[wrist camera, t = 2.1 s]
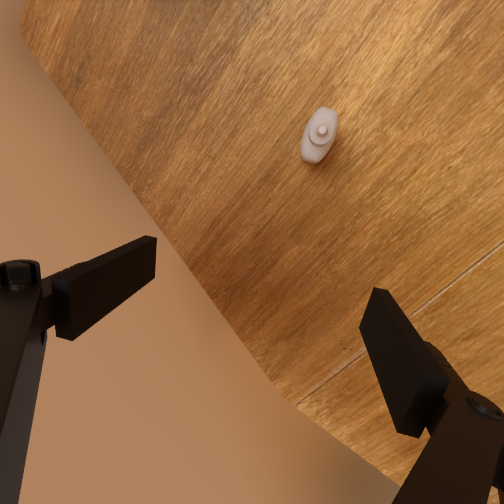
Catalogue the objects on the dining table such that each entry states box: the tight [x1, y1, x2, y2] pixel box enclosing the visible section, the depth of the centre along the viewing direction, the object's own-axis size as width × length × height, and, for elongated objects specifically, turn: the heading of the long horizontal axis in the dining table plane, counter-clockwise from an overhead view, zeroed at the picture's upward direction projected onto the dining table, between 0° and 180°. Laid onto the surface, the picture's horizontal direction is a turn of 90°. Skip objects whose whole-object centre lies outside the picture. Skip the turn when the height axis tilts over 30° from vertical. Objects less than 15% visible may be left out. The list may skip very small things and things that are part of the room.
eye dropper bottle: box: [301, 107, 338, 164], centre depth 30 cm, size 4×6×12 cm
